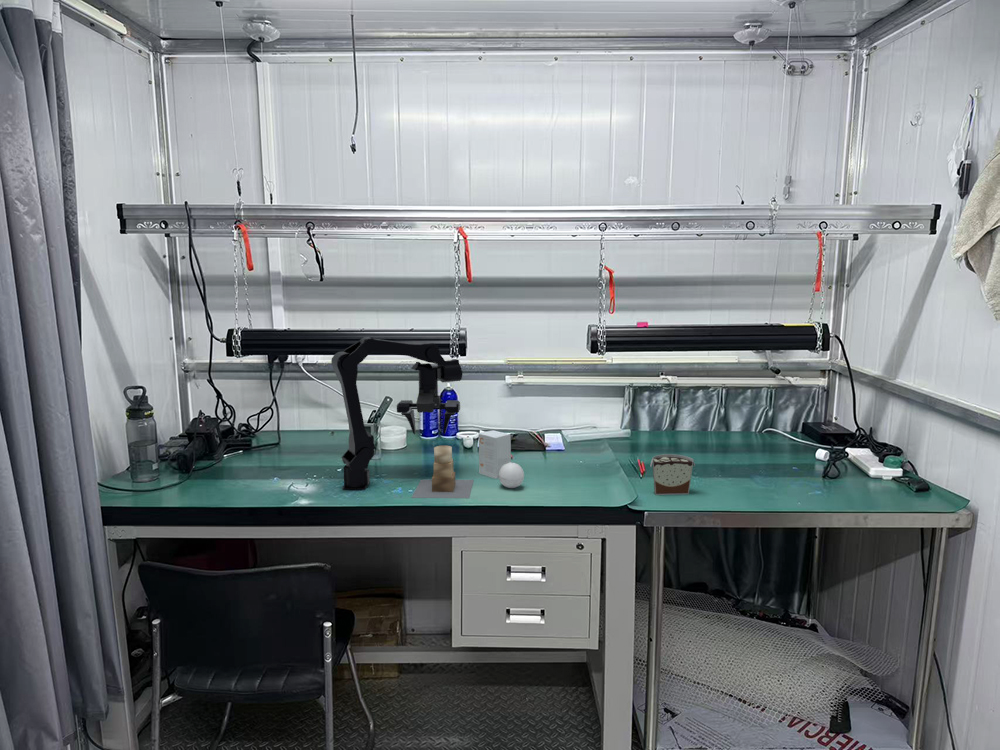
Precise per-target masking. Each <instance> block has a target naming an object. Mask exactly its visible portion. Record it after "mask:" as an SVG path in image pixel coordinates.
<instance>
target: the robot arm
mask: <svg viewBox="0 0 1000 750" xmlns="http://www.w3.org/2000/svg"><path fill="white" fill-rule="evenodd" d="M372 352H374V353H375V352H376V353H383V354H389V355H397V356H405V357H406V356H407V357H410V358H414V359H417V360H419V361H415V363H414V364H413V365H412V366H411V367H410V369H411V370H413V371H418V375H417V376H418V394H417V397H416V402H415V403H414V402H413V400H406V399H405V400H403V399H401V400H400V401H399V402H398V403H397V405H396V413H398V414H399V413H401V414H400V415H401V416H404V417H405V418H406V419H407V421H408V423H409V426H410V428H411V431H412V433H413V435H416V431H417V430H416V427H417V426H416V419H415V410H416V411H417V413H420V414H421V413H428V414H429V413H430V414H431V413H433V412H434V411H435V410H445V413H444V421H443V435H446V432H447V429H448V426H449V423H450V419H451V417H452V416H455V415H456V413H459V412H460V410H461V402H460V401H459V400H458V399H457V400H455V399H454V400H453V399H452V400H451V399H448V400H446V402H442V401H441V396H440V395H439V388H438V387H439V385H438V381H440V382H441V383H451V382H460V381H461V380H462V379H463V370H462V366H461V364H460V360H459V359H456V358H454V359H450V360H449V359H447V360H445V359H444V357H443V355H441V353H440V348H439V346H438V345H437V344H435V343H433V342H427V341H418V342H417V341H416V342H415V341H414V342H402V341H400V342H399V341H395V340H394V341H393V340H386V339H377V338H372V337H369V336H364V337H362V338H361V339H359V341H357V342H355V343H353V344H352V345H350V346H348V347H346V348H345V349H344V350H342V351H338V352H336V353H335V354H334V355H333V356H332V358H331V361H330V362H331V367H332V369H333V372H334V374H335V376H336V378H337V380H338V382H339V384H340V387H341V392H342V396H343V403H344V407H345V411H346V417H347V422H348V428H349V435H348V436H349V437H348V449H347V451H346V452H345V453H343V455H342V456H341V460H342V462H343V464H344V466H343V468H342V469H343V486H342V490H352V491H353V490H354V491H355V490H360V491H361V490H362V491H363V490H366V489H367V487H368V486H369V485H370V482H371V480H370V479H371V478H370V476H371V475H370V469H368V467H369V464H370V461H371V460H372V459H373V457H374V456H375V450H377V447H376V445H375V440H374V439H375V437H374V435H373V434H371V433H370V432H369V431H366V426H365V422H364V417H363V411H362V407H361V401H360V396H359V391H358V385H357V380H358V375H359V374H358V371H359V370H358V368H359V367H358V365H359V364H361V363H362V362H363V361H364V360H365V359H366V358H367V357H368V355H369V354H371V353H372ZM420 361H422V362H426V363H421V362H420ZM432 364H434V365H432Z"/></svg>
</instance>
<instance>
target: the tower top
mask: <svg viewBox="0 0 1000 750" xmlns="http://www.w3.org/2000/svg"><path fill="white" fill-rule="evenodd" d="M453 472H454V459H453V458H452V462H451V463H447V464H438V463H435V462H433V474H434V478H452V475H453Z"/></svg>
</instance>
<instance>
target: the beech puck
mask: <svg viewBox="0 0 1000 750" xmlns="http://www.w3.org/2000/svg"><path fill="white" fill-rule="evenodd" d="M452 449H453V447H452V446H450V445H437V446H434V447H433V453H434V454H433V456H434V457H433V458H434V462H435V463H438V464H447V463H451V462H452V459H453V450H452ZM434 462H433V463H434Z"/></svg>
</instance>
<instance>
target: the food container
mask: <svg viewBox="0 0 1000 750" xmlns="http://www.w3.org/2000/svg"><path fill="white" fill-rule="evenodd" d="M649 466H650V468H652V473H653V475H652V477H653V487H654V495H655V496H657V495H659V496H662V495H663V496H664V495H666V496H667V495H669V496H670V495H673V496H674V495H675V496H676V495H689V494H690V488H691V483H692V481H691V480H692V476H693V474H692V473H693V468H695V467H696V463H695V460H694V458H692V457H689V456H687V455H682V454H681V455H680V454H675V453H674V454H672V453H668V454H667V453H666V454H658V455H657V454H656V455H655V456H653V457H652V459H651V461H650V465H649Z"/></svg>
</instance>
